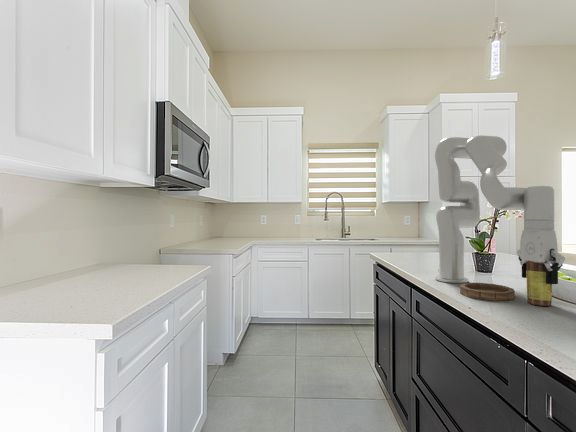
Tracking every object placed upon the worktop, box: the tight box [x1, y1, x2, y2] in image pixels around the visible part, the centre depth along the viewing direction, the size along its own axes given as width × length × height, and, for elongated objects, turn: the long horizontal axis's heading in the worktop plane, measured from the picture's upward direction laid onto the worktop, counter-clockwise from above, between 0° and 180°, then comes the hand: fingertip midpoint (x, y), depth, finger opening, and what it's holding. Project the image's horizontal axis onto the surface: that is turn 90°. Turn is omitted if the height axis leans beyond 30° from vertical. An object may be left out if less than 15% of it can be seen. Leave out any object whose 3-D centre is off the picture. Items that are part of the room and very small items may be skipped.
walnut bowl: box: [459, 282, 516, 302], centre depth 114 cm, size 16×16×3 cm
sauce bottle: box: [526, 261, 553, 307], centre depth 102 cm, size 7×6×20 cm
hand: (538, 280), depth 102 cm, fingers open, 9 cm apart
